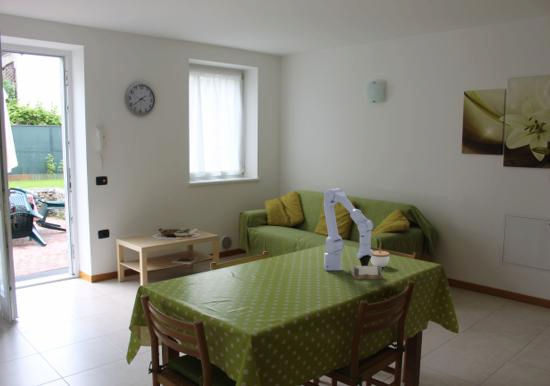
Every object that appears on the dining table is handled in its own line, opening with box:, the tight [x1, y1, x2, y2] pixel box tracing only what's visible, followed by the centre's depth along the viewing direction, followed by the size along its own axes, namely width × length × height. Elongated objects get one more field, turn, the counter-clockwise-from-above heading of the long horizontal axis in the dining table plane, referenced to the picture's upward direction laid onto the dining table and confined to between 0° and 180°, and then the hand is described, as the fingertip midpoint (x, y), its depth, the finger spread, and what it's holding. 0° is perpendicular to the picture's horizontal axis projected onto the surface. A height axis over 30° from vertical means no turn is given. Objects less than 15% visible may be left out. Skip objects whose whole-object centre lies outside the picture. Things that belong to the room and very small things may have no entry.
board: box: [348, 268, 384, 280], centre depth 256 cm, size 15×15×5 cm
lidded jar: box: [369, 249, 390, 268], centre depth 274 cm, size 11×11×9 cm
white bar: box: [353, 265, 383, 275], centre depth 252 cm, size 14×2×4 cm, turn 92°
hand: (364, 269), depth 255 cm, fingers closed
